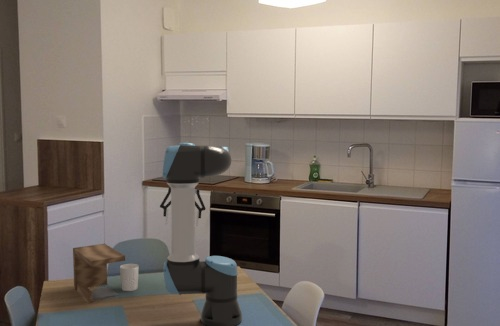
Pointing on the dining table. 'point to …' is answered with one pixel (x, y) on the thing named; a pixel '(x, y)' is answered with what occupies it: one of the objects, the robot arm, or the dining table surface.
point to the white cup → (129, 277)
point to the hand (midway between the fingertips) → (181, 225)
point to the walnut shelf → (92, 267)
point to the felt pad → (102, 293)
